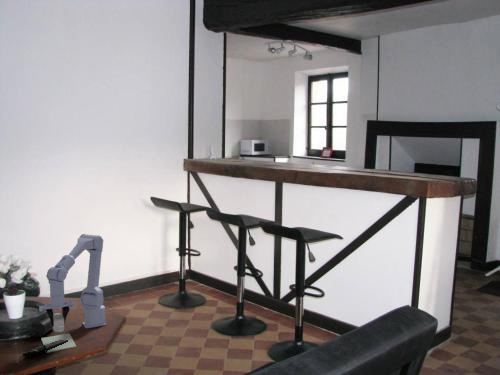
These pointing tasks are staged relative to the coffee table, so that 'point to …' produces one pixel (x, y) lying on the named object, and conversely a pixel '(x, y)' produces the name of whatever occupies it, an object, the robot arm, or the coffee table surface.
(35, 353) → the coffee table surface
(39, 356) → the coffee table surface
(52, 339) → the mat
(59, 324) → the connector
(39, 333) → the end cap
